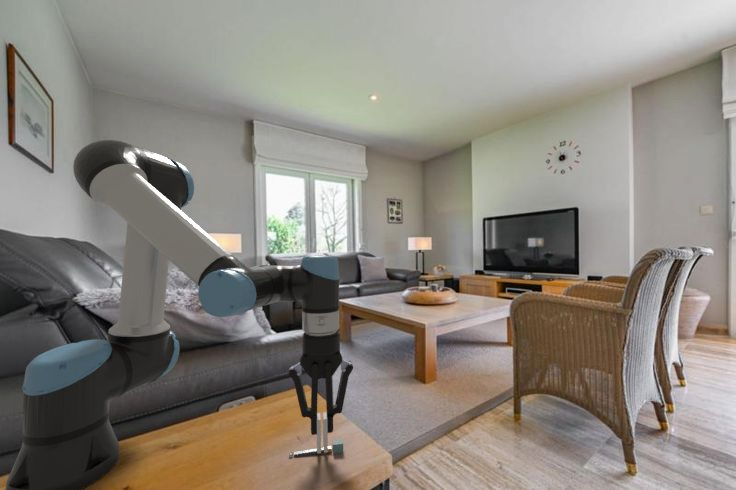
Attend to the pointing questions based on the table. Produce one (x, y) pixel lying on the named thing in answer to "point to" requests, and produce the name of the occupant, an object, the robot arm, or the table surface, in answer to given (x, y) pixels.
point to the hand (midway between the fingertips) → (322, 448)
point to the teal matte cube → (337, 446)
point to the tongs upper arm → (309, 452)
